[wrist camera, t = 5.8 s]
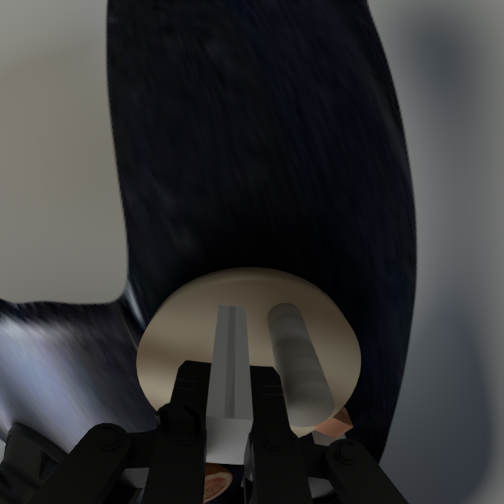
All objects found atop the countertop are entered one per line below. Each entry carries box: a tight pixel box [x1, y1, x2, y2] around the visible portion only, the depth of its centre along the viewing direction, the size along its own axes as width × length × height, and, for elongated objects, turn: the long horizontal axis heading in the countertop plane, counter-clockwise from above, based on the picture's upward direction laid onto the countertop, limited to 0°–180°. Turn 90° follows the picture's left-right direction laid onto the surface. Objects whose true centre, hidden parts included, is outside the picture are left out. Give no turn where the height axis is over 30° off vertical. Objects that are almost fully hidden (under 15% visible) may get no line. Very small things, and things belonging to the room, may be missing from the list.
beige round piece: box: [136, 267, 361, 438], centre depth 15 cm, size 16×19×10 cm
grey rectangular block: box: [312, 430, 346, 446], centre depth 22 cm, size 2×2×5 cm
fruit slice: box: [203, 462, 233, 504], centre depth 23 cm, size 8×7×5 cm
